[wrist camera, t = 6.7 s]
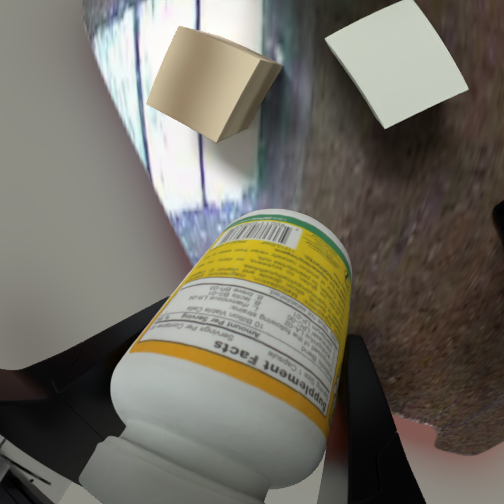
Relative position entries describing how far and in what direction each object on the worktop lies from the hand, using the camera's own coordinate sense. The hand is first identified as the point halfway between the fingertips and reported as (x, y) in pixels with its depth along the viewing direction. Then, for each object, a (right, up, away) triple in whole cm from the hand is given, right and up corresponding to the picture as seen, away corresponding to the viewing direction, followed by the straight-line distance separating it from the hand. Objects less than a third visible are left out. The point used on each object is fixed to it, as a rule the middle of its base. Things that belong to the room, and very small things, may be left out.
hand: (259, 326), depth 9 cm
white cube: (+8, +13, +5) cm, 16 cm away
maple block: (-2, +14, +8) cm, 16 cm away
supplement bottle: (+1, +2, +3) cm, 3 cm away
